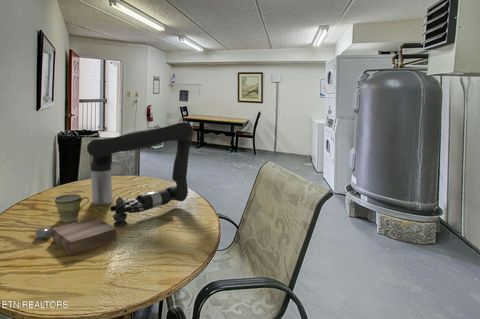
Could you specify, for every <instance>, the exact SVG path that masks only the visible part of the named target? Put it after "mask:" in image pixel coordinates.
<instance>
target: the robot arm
mask: <svg viewBox="0 0 480 319" xmlns="http://www.w3.org/2000/svg"><path fill="white" fill-rule="evenodd" d="M194 132H195V131H194V127H193V126H192V124H191V123H189V122H187V121H180V122H176V123H173V124H169V125H166V126H162V127H152V128H145V129H140V130H135V131H131V132H127V133H124V134H122V135H119V136H115V137H108V138H106V137H97V138H94V139H92V140H91V141H90V142H89V143H88V144H87V146H86V151H87V154H89V155H90V156H92V162H91V164H90V178H91V181H90V182H91V200H92V204H93V205H95V206H105V205H106V206H107V205H110V204H111V203H113V191H112V190H113V186H112V183H113V182H112V163H113V154H116V153H120V152H121V153H122V152H129V151H130V152H131V151H138V150H143V149H147V148H148V149H149V148H152V147H154V146H155V147H156V146H158V145H160V144H162V143H166V142H170V141H171V142H172V141H177V142H176V143H177V144H176V146H177V148H176V153H175V158H174V162H173V167H172V181H173V182H175V183H176V185H175V186H174V185H173V186H169V187H166V188H164V189H161V190H157V191H151V192H147V193H142V194H139V195H137V196H136V197H135V199H133V198H132V199H130V200H129V198H124V199H123V206H124V207H121V208H117V209H116V208H115V207H116V204H115V205H111V206H110V210H109V211H110V212H115V214H120V213H123V212H124V213H126V214H134V213H141V212H142V213H143V212H145V211H149V210H152V209H156V208H158V207H161V206H164V205H168V204H169V203H170V202H171V201H175V202H176V201H177V202H184V201H185V200H186V199H187V198H188V195H189V189H188V180H187V176H188V166H189V164H188V163H189V152H190V146H191V144H192V140H193V137H194V134H195V133H194Z"/></svg>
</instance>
